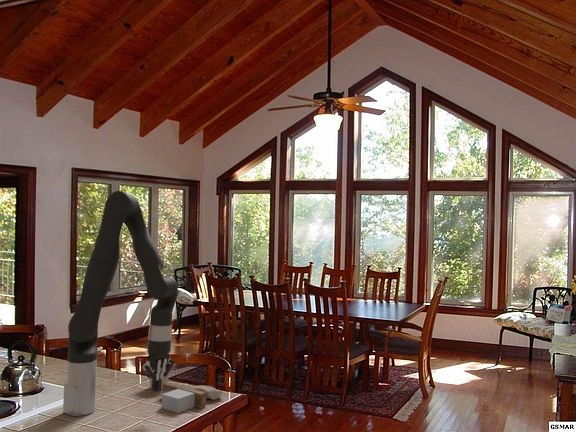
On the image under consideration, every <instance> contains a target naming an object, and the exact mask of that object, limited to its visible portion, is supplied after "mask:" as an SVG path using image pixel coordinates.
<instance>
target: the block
mask: <svg viewBox="0 0 576 432" xmlns="http://www.w3.org/2000/svg"><path fill="white" fill-rule="evenodd" d="M160 407H161V409H164V410H167V411H170V412H174V413H177V414H180V413H181V412H184V411H188V410H190V409H193V408H196V407H195V393H192V392H189V391H185V390H181V389H176V390H173V391H170V392H167V393H164V394H161V406H160ZM187 409H188V410H187Z"/></svg>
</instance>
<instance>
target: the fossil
mask: <svg viewBox="0 0 576 432" xmlns="http://www.w3.org/2000/svg"><path fill="white" fill-rule="evenodd" d="M193 389H195V390H198V391H202V392H206V400H208V399H210V400H213V401H214V400H218V399H219V398H220V397H221V396H222V395H223V391H222V390H220V389H217V388H215V387H213V386H211V385H196V386H195V385H194V386H193Z"/></svg>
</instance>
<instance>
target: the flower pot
mask: <svg viewBox="0 0 576 432" xmlns="http://www.w3.org/2000/svg"><path fill="white" fill-rule="evenodd" d="M150 369H151V368H150ZM165 371H166V370H165ZM169 376H170V372H169V373H168V375H167V376H166V377H165V376H164V377H163V379H162V384H161V389H160V391H162V386H163V383H166V382H169ZM148 379H149V386H150V387H149V388H150V389H151V390H153V389H152V379H150V378H148Z"/></svg>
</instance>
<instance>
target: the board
mask: <svg viewBox="0 0 576 432" xmlns="http://www.w3.org/2000/svg"><path fill="white" fill-rule="evenodd" d="M176 389H181V390H185V391H189V392H192V393H195V407H194V408H197V409H204V408H205V407H206V404H207V403H206V402H207V401H206V400H207V398H206V392H202V391H198V390H195V389H194V388H190V387H187V386H183V385H179V384H176V383H171V382H169V381H168V382H166V383H163V386H162V390H161V391H162V392H161V393H162V394H164V393H167V392H170V391H173V390H176ZM162 394H161V395H162ZM203 407H204V408H203Z"/></svg>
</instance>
